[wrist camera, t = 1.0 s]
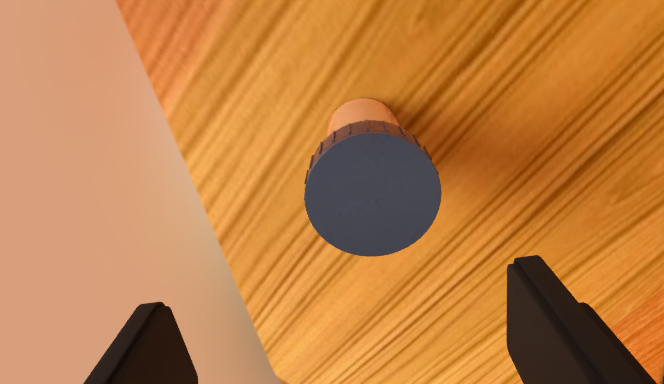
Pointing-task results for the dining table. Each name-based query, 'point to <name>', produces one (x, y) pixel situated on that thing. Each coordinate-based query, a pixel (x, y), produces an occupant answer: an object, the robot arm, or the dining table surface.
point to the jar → (359, 113)
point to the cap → (372, 189)
